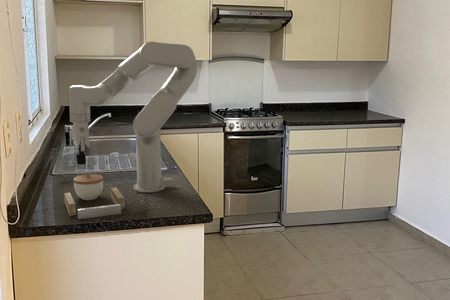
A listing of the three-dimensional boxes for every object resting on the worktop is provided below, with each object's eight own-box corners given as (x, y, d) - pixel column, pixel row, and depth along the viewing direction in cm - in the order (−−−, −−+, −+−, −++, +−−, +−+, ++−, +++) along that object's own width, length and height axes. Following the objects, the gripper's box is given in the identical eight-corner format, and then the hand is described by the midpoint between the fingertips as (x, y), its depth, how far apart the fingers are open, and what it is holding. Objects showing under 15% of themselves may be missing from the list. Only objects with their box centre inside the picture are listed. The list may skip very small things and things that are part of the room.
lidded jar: (73, 195, 186) (72, 171, 184) (102, 192, 190) (101, 169, 188) (75, 203, 177) (74, 178, 175) (105, 200, 180) (104, 175, 178)
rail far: (70, 203, 177) (70, 192, 176) (75, 214, 164) (75, 203, 164) (64, 203, 176) (64, 193, 175) (69, 215, 164) (68, 204, 163)
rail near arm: (116, 197, 183) (115, 187, 183) (124, 208, 171) (124, 197, 170) (110, 198, 183) (110, 188, 182) (118, 209, 170) (118, 198, 169)
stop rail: (120, 212, 167) (119, 203, 166) (121, 213, 166) (120, 205, 165) (77, 217, 162) (77, 209, 161) (78, 219, 160) (78, 210, 160)
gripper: (93, 120, 183) (94, 167, 186) (87, 114, 196) (88, 159, 200) (72, 120, 179) (73, 169, 183) (67, 115, 193) (68, 160, 197)
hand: (81, 163), depth 191 cm, fingers closed
